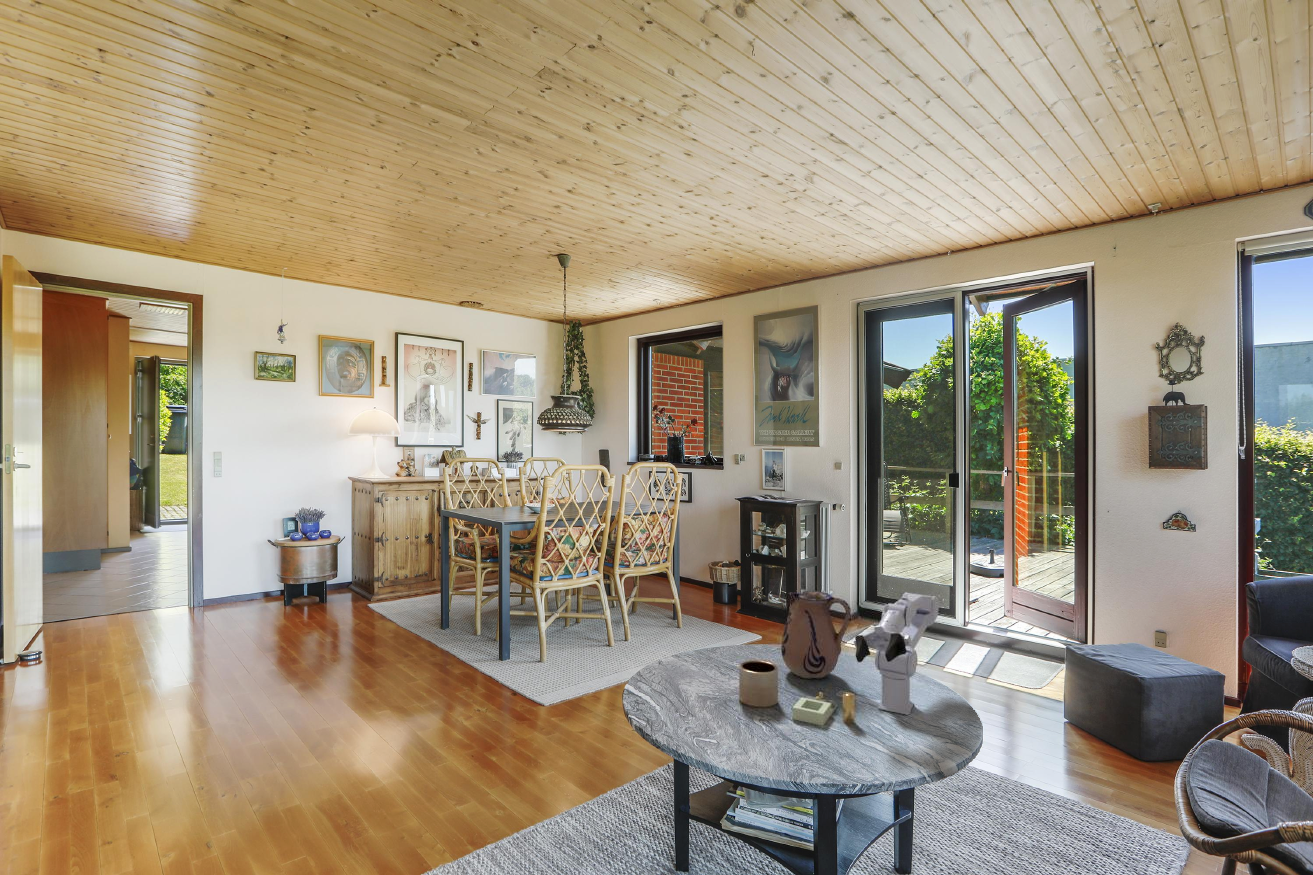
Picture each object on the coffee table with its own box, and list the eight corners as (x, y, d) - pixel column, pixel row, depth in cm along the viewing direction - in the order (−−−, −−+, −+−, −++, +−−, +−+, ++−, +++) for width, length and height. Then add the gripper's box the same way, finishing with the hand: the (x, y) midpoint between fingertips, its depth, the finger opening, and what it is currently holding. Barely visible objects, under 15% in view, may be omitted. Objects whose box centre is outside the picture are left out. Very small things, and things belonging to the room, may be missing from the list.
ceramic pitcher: (784, 662, 211) (785, 586, 212) (851, 669, 205) (851, 591, 205) (777, 680, 195) (778, 597, 195) (849, 688, 188) (850, 603, 189)
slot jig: (807, 700, 179) (807, 688, 179) (838, 707, 174) (838, 694, 175) (792, 718, 166) (792, 705, 166) (824, 726, 162) (824, 712, 162)
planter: (731, 697, 181) (731, 663, 181) (762, 691, 186) (762, 657, 186) (754, 711, 171) (754, 675, 171) (786, 704, 176) (786, 669, 176)
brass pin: (844, 718, 167) (844, 691, 167) (855, 720, 166) (855, 693, 166) (841, 722, 165) (841, 695, 165) (853, 724, 163) (853, 697, 163)
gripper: (857, 619, 174) (840, 644, 163) (910, 615, 165) (895, 642, 154) (865, 642, 174) (849, 669, 163) (919, 640, 165) (905, 669, 154)
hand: (872, 658), depth 159 cm, fingers open, 7 cm apart
